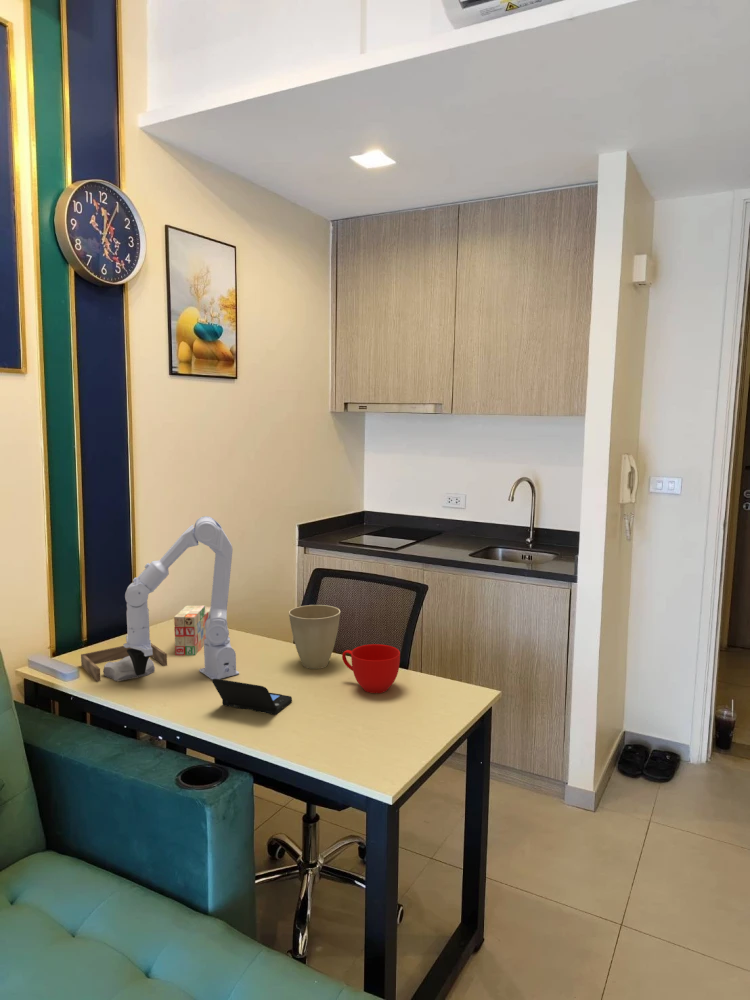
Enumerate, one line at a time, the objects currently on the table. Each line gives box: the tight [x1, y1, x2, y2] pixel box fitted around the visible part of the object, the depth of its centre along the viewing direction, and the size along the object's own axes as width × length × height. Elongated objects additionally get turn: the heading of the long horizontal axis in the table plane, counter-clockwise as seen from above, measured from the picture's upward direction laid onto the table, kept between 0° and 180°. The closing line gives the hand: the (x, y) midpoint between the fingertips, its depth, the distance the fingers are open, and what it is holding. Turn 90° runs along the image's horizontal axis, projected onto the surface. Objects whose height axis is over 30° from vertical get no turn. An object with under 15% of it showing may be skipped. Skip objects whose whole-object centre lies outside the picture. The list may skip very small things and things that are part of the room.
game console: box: [211, 678, 293, 716], centre depth 170 cm, size 16×14×9 cm
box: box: [80, 642, 168, 682], centre depth 198 cm, size 15×20×4 cm
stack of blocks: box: [173, 605, 210, 656], centre depth 217 cm, size 21×6×12 cm, turn 179°
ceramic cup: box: [341, 643, 401, 694], centre depth 183 cm, size 13×17×10 cm
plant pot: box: [288, 604, 341, 670], centre depth 199 cm, size 15×15×16 cm
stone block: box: [102, 656, 156, 682], centre depth 192 cm, size 12×5×10 cm
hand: (140, 674), depth 188 cm, fingers closed
